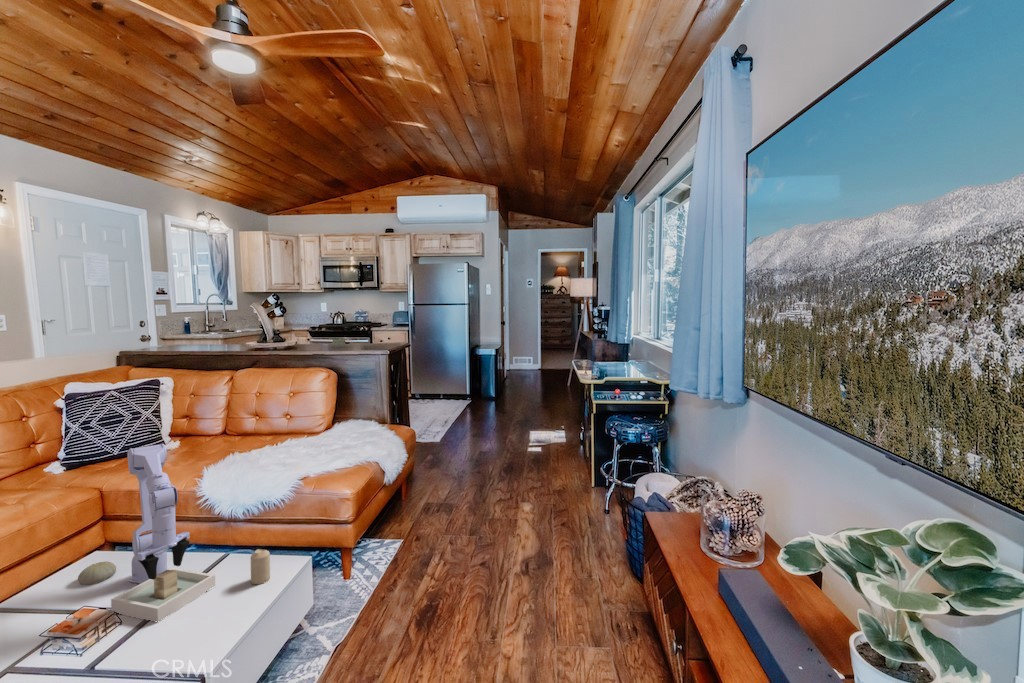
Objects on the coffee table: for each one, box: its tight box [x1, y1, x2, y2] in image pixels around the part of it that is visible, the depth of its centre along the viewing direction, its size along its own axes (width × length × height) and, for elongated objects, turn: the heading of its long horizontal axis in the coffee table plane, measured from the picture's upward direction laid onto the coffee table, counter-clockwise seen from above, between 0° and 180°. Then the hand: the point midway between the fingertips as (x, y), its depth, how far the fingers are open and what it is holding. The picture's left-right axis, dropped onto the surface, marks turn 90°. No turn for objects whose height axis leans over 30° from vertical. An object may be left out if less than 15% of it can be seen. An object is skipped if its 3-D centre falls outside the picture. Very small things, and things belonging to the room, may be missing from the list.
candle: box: [250, 548, 271, 585], centre depth 147 cm, size 6×6×10 cm
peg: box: [154, 569, 177, 600], centre depth 136 cm, size 4×4×8 cm
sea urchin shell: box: [77, 561, 117, 585], centre depth 148 cm, size 9×8×8 cm
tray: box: [110, 566, 216, 623], centre depth 136 cm, size 18×18×4 cm
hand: (165, 571), depth 136 cm, fingers open, 7 cm apart
